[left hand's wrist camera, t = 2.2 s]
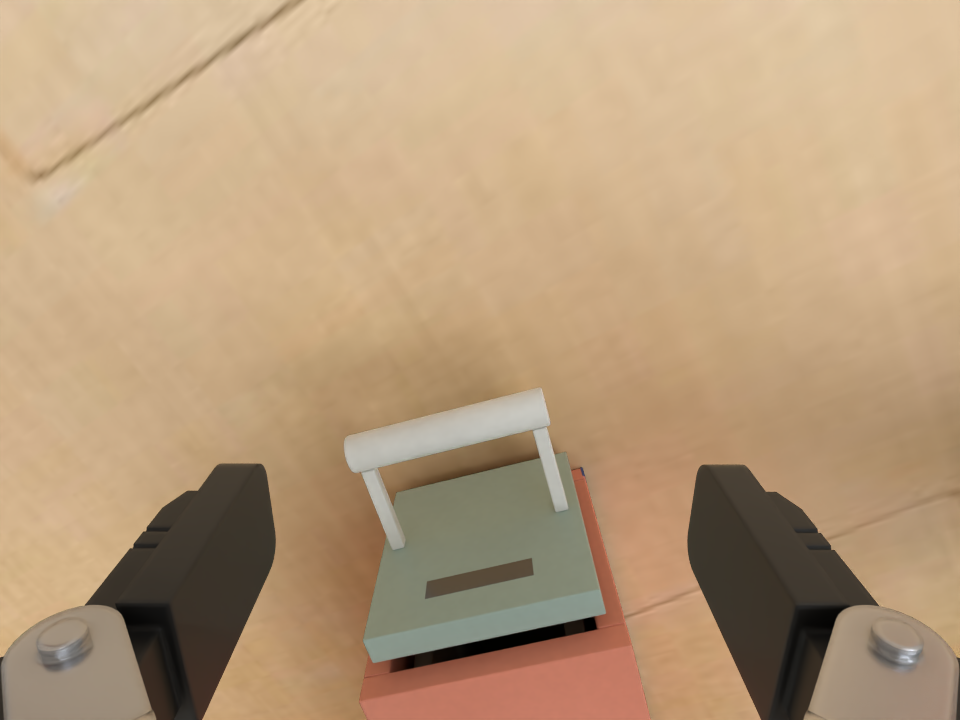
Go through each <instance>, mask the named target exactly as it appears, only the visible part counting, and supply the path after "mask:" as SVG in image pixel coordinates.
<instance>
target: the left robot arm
mask: <svg viewBox="0 0 960 720" xmlns="http://www.w3.org/2000/svg"><path fill="white" fill-rule="evenodd" d="M275 543H276V538H275V528H274V521H273V514H272V508H271V501H270V494H269V487H268V480H267V474H266V470H265V468H264V466H263V465H262V464H219V465H217V466H216V467H215V468H214V470H213V471H212V473H211V474H210V475H209V477H208V478H207V479H206V481H205V482H204V483H203V485H202V486H201V487H200V489H199V490H198V491H187V492H185V493H184V494H182V495H181V496H179V497H178V498H176V499H175V500H173V501H172V502H170V503H169V504H167V505H166V506H164V507H163V508H162V509H161V510H160V512H159V513H158V514H157V515H156V517H155V518H154V519H153V520H152V522H151V523H150V524H149V525H148V527H147V531H146V532H143V533H142V534H141V535H140V537H139V538H138V539H137V540H136V542H135V543H134V547H133V548H130V549H129V550H128V552H127V553H126V554H125V556H124V557H123V558H122V559H121V561H120V562H119V563H118V564H117V566H116V567H115V568H114V569H113V571H112V572H111V573H110V574H109V576H108V577H107V578H106V579H105V581H104V582H103V583H102V584H101V586H100V587H99V588H98V589H97V591H96V592H95V593H94V594H93V596H92V597H91V598H90V599H89V601H88V602H87V603H86V604H85V606H80V607H75V608H71V609H68V610H65V611H62V612H59V613H57V614H54V615H52V616H50V617H48V618H46V619H44V620H42V621H40V622H39V623H37V624H36V625H34V626H32V627H31V628H29V629H28V630H27V631H26V632H24V633H23V634H22V635H21V636H20V637H19V638H18V639H17V640H16V641H14V643H13V644H12V645H11V646H10V648H9V649H8V650H7V652H6V654H5V655H4V657H0V720H202V719H203V717H204V714H205V712H206V710H207V708H208V706H209V703H210V701H211V699H212V697H213V695H214V692H215V690H216V688H217V686H218V684H219V681H220V679H221V677H222V675H223V673H224V670H225V668H226V666H227V664H228V662H229V659H230V657H231V655H232V653H233V651H234V648H235V646H236V644H237V642H238V640H239V637H240V635H241V633H242V631H243V629H244V626H245V624H246V622H247V620H248V618H249V615H250V613H251V611H252V609H253V607H254V604H255V602H256V600H257V598H258V596H259V594H260V591H261V589H262V587H263V585H264V583H265V580H266V578H267V576H268V574H269V572H270V569H271V567H272V563H273V559H274V554H275ZM688 555H689V560H690V564H691V567H692V570H693V572H694V575H695V577H696V579H697V581H698V583H699V585H700V588H701V590H702V592H703V594H704V596H705V598H706V601H707V603H708V605H709V607H710V609H711V612H712V614H713V616H714V618H715V620H716V622H717V625H718V627H719V629H720V631H721V633H722V635H723V638H724V640H725V642H726V644H727V646H728V648H729V651H730V653H731V655H732V657H733V659H734V661H735V664H736V666H737V668H738V670H739V672H740V674H741V677H742V679H743V681H744V683H745V685H746V687H747V690H748V692H749V694H750V696H751V698H752V701H753V703H754V705H755V707H756V709H757V711H758V714H759V716H760V718H761V720H960V658H957V657H956V655H955V654H954V652H953V650H952V649H951V648H950V646H949V645H948V644H947V643H946V641H944V640H943V639H942V638H941V637H940V636H939V635H938V634H937V633H936V632H934V631H933V630H932V629H931V628H929V627H928V626H926V625H924V624H923V623H921V622H920V621H918V620H916V619H914V618H912V617H910V616H908V615H906V614H903V613H901V612H898V611H895V610H892V609H889V608H885V607H880V606H879V605H878V604H877V603H876V601H875V600H874V599H873V598H872V596H871V595H870V594H869V593H868V591H867V590H866V589H865V588H864V586H863V585H862V584H861V583H860V581H859V580H858V579H857V578H856V576H855V575H854V574H853V573H852V571H851V570H850V569H849V568H848V566H847V565H846V564H845V563H844V561H843V560H842V559H841V558H840V556H839V555H838V554H837V553H836V551H835V550H831V545H830V544H829V543H828V542H827V540H826V539H825V538H824V537H823V535H822V534H821V533H818V531H817V528H816V527H815V525H814V524H813V523H812V522H811V520H810V519H809V518H808V517H807V515H806V514H805V513H804V512H803V510H802V509H801V508H799V507H798V506H796V505H795V504H793V503H792V502H790V501H789V500H787V499H786V498H784V497H783V496H781V495H780V494H778V493H777V492H765V490H764V489H763V488H762V486H761V485H760V483H759V482H758V481H757V479H756V478H755V477H754V475H753V474H752V473H751V471H750V470H749V469H748V468H747V467H746V466H745V465H702V466H700V468H699V470H698V472H697V477H696V483H695V490H694V496H693V503H692V510H691V517H690V523H689V530H688Z"/></svg>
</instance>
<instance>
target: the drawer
mask: <svg viewBox="0 0 960 720" xmlns="http://www.w3.org/2000/svg"><path fill="white" fill-rule="evenodd" d="M550 424H551V423H550V418H549V414H548V410H547V406H546V402H545V399H544V395H543V391H542V388H541V387H538V388H534V389H530V390H526V391H522V392H519V393H515V394H511V395H507V396H503V397H499V398H495V399H491V400H487V401H483V402H479V403H475V404H471V405H467V406H463V407H459V408H455V409H451V410H447V411H443V412H439V413H435V414H431V415H427V416H424V417H420V418H416V419H412V420H408V421H404V422H400V423H396V424H392V425H388V426H384V427H380V428H376V429H372V430H368V431H364V432H360V433H356V434H352V435H348V436H347V437H346V438H345V440H344V453H345V458H346V461H347V464H348V466H349V468H350V470H351V471H352V472H354V473H359V472H361V474H362V476H363V479H364V481H365V484H366V486H367V489H368V491H369V494H370V496H371V499H372V501H373V504H374V506H375V509H376V511H377V513H378V516H379V518H380V521H381V523H382V526H383V528H384V531H385V533H386V540H385V545H384V549H383V554H382V558H381V562H380V567H379V571H378V576H377V580H376V584H375V589H374V593H373V598H372V602H371V607H370V611H369V615H368V620H367V624H366V629H365V633H364V638H363V642H364V645H365V647H366V649H367V651H368V653H369V656H370V658H371V660H372V662H373V663H377V662H382V661H386V660H391V659H396V658H401V657H405V656H410V655H415V660H414V668H416V667H421V666H426V665H431V664H435V663H440V662H445V661H450V660H454V659H459V658H464V657H469V656H474V655H478V654H483V653H488V652H493V651H497V650H502V649H507V648H512V647H516V646H521V645H526V644H531V643H536V642H540V641H545V640H550V639H555V638H559V637H564V636H569V635H574V634H578V633H583V632H588V631H593V630H595V629H594V625H593V622H592V618H591V617H594V616H599V615H603V614H606V610H605V606H604V602H603V598H602V594H601V590H600V586H599V582H598V577H597V573H596V569H595V565H594V561H593V557H592V553H591V549H590V545H589V541H588V537H587V533H586V529H585V525H584V521H583V517H582V513H581V509H580V505H579V501H578V497H577V492H576V488H575V484H574V480H573V476H572V472H571V468H570V465H569V461H568V457H567V453H566V452H563V453H558V454H554V451H553V448H552V444H551V440H550V437H549V433H548V429H547V426H549V425H550ZM530 430H533V434H534V438H535V441H536V445H537V449H538V452H539V456H540V458H538V459H534V460H529V461H525V462H521V463H517V464H513V465H509V466H504V467H500V468H496V469H492V470H488V471H484V472H480V473H475V474H471V475H467V476H463V477H459V478H455V479H450V480H446V481H442V482H438V483H434V484H430V485H425V486H421V487H417V488H413V489H409V490H405V491H401V492H397V493H396V496H395V500H394V505H393V506H392V503H391V501H390V498H389V496H388V493H387V491H386V488H385V486H384V483H383V480H382V478H381V475H380V473H379V470H378V468H379V467H383V466H387V465H391V464H395V463H399V462H403V461H407V460H412V459H416V458H420V457H424V456H428V455H432V454H436V453H440V452H444V451H448V450H452V449H456V448H460V447H464V446H469V445H473V444H477V443H481V442H485V441H489V440H493V439H497V438H501V437H505V436H509V435H513V434H517V433H521V432H526V431H530Z"/></svg>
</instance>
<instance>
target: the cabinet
mask: <svg viewBox="0 0 960 720" xmlns="http://www.w3.org/2000/svg"><path fill="white" fill-rule="evenodd" d="M571 472H572V476H573V480H574V484H575V488H576V492H577V497H578V501H579V505H580V509H581V513H582V517H583V521H584V525H585V529H586V533H587V537H588V541H589V545H590V549H591V553H592V557H593V561H594V565H595V569H596V573H597V577H598V582H599V586H600V590H601V594H602V598H603V602H604V606H605V610H606V614H603V615H599V616H594V617H591V618H592V622H593V625H594V629H595V630H593V631H588V632H583V633H578V634H574V635H569V636H564V637H559V638H555V639H550V640H545V641H540V642H536V643H531V644H526V645H521V646H516V647H512V648H507V649H502V650H497V651H493V652H488V653H483V654H478V655H474V656H469V657H464V658H459V659H454V660H450V661H445V662H440V663H435V664H431V665H426V666H421V667H416V668H414V660H415V655H410V656H405V657H401V658H396V659H391V660H386V661H382V662H377V663H373V662H372V660H371V658H370V656H368V661H367V666H366V671H365V675H364V680H363V685H362V690H361V695H360V699H359V703H360V705H361V707H362V709H363V711H364V713H365V716H366V718H367V720H651V719H650V715H649V711H648V707H647V703H646V699H645V695H644V691H643V687H642V683H641V679H640V675H639V671H638V667H637V663H636V659H635V655H634V651H633V647H632V643H631V640H630V636H629V633H628V629H627V626H626V622H625V618H624V615H623V611H622V608H621V604H620V601H619V597H618V593H617V590H616V586H615V583H614V579H613V576H612V572H611V569H610V565H609V561H608V558H607V554H606V551H605V547H604V544H603V540H602V536H601V533H600V529H599V526H598V522H597V519H596V515H595V511H594V508H593V504H592V501H591V497H590V494H589V490H588V486H587V483H586V479H585V475H584V471H583V468H582V467H581V468H580V469H576V470H572V471H571Z"/></svg>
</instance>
